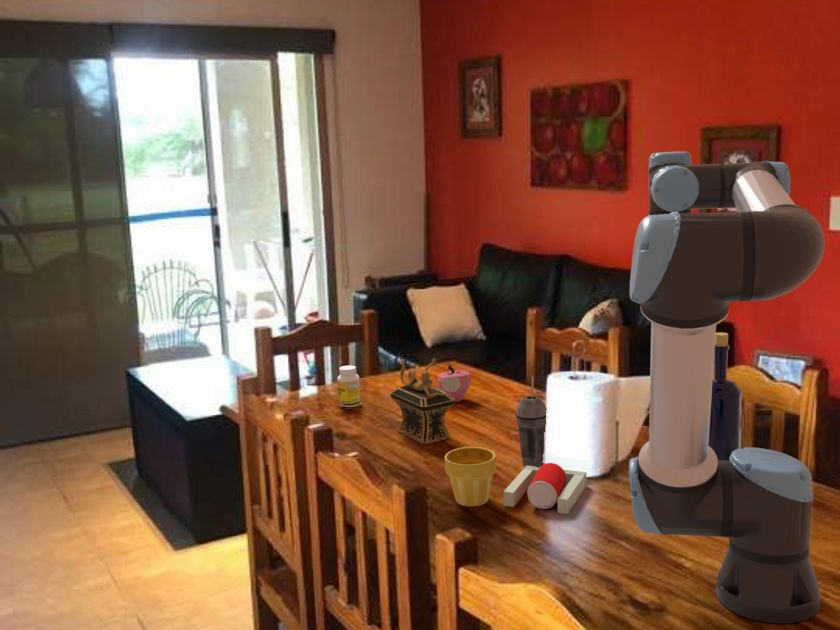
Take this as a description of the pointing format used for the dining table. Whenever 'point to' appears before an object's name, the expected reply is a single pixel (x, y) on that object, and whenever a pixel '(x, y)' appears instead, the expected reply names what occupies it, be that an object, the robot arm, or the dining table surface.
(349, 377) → the pill bottle
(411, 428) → the decorative box
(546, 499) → the beverage can
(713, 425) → the bottle
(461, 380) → the apple
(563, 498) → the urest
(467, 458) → the plant pot
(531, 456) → the beverage cup
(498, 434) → the dining table surface
